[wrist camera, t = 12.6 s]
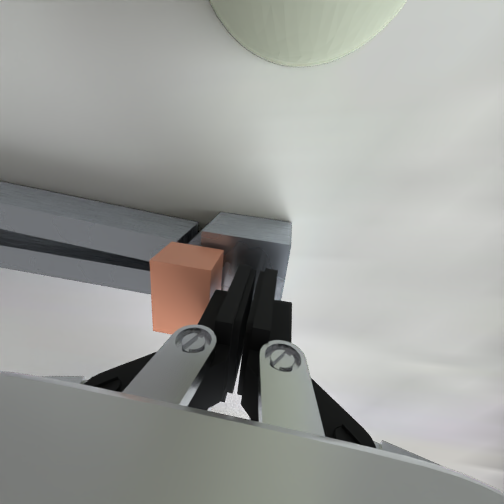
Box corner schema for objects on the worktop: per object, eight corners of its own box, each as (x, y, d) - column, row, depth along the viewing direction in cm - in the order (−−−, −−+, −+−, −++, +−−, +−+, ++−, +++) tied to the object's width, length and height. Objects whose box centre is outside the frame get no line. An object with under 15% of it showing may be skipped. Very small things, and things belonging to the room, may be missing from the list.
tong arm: (198, 218, 15) (177, 236, 12) (196, 247, 16) (175, 270, 13) (-88, 159, 16) (-166, 164, 13) (-78, 189, 17) (-150, 199, 14)
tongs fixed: (291, 222, 15) (291, 245, 11) (279, 293, 16) (275, 329, 13) (-80, 167, 17) (-166, 173, 14) (-54, 235, 18) (-124, 255, 15)
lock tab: (223, 250, 12) (211, 270, 10) (219, 313, 13) (207, 341, 11) (171, 241, 12) (149, 260, 10) (172, 304, 13) (153, 330, 11)
